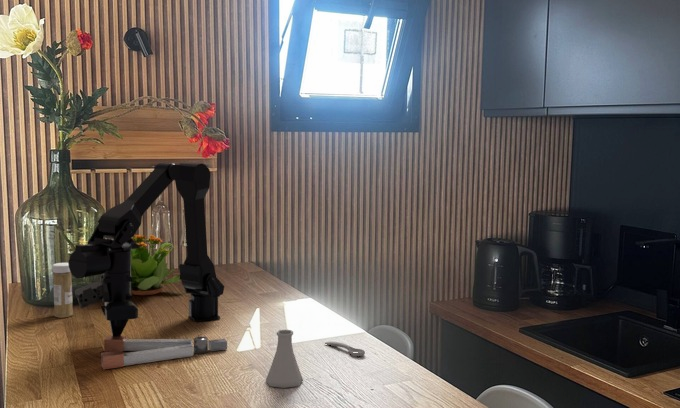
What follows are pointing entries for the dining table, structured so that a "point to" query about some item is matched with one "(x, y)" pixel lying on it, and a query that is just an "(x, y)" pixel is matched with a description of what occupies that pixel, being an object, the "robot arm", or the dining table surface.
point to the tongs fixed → (154, 354)
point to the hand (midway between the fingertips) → (116, 339)
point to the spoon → (349, 348)
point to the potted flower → (149, 267)
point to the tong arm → (152, 344)
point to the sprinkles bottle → (62, 290)
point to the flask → (284, 363)
